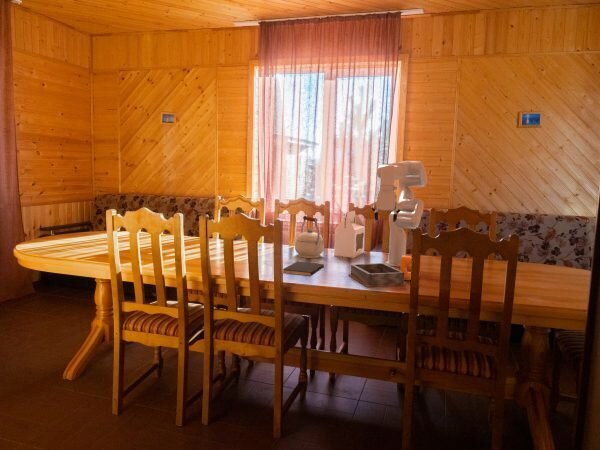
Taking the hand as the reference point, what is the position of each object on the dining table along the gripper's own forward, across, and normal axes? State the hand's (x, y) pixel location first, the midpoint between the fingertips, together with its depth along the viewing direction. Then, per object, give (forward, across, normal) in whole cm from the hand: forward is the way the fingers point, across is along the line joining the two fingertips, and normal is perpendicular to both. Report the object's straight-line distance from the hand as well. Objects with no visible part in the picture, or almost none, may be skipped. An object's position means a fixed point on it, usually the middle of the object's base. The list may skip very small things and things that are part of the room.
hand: (385, 220), depth 248 cm
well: (+29, -1, +18) cm, 34 cm away
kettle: (+28, +52, -22) cm, 63 cm away
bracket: (+29, -15, +6) cm, 33 cm away
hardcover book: (+30, +40, +14) cm, 52 cm away
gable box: (+28, +33, -44) cm, 61 cm away
